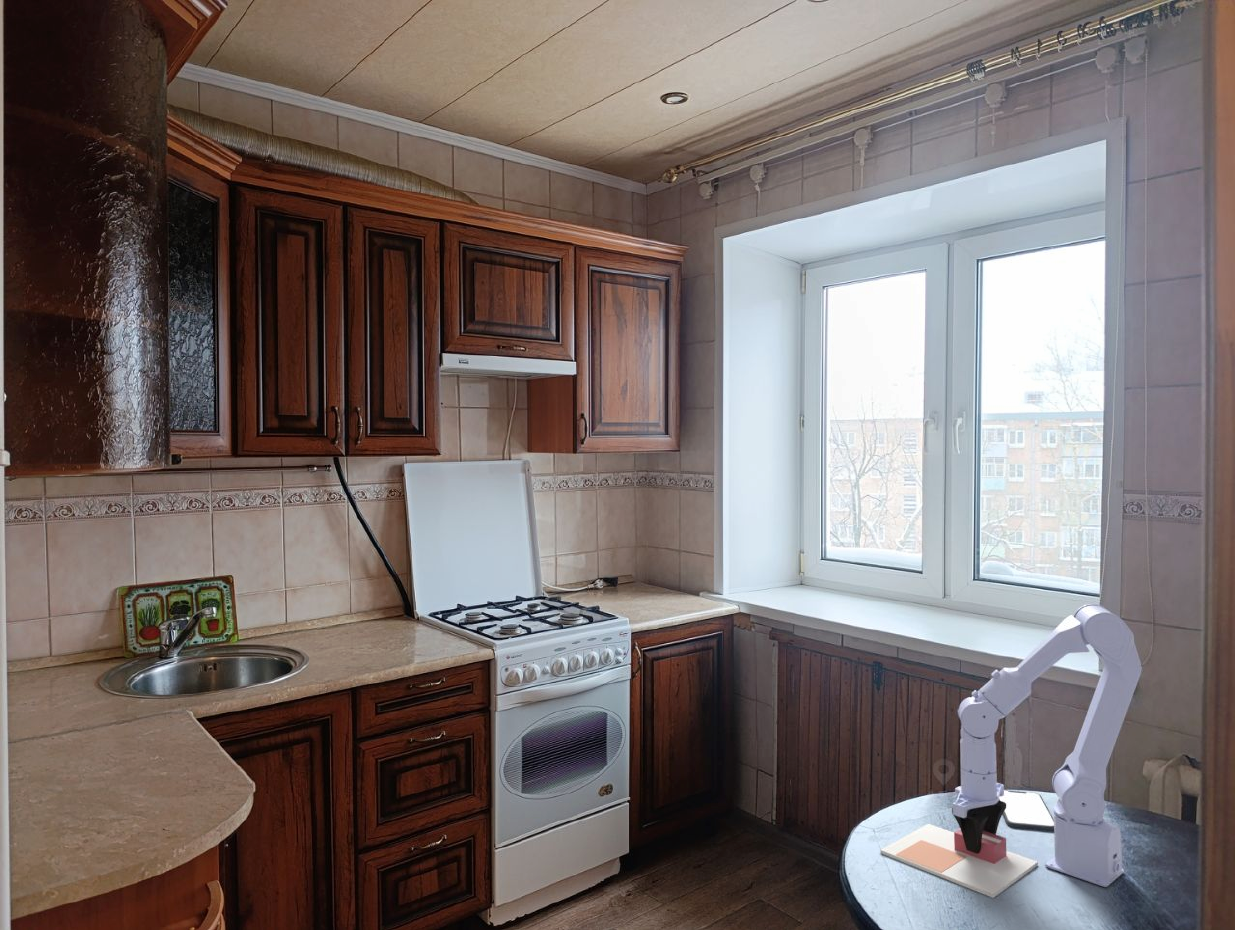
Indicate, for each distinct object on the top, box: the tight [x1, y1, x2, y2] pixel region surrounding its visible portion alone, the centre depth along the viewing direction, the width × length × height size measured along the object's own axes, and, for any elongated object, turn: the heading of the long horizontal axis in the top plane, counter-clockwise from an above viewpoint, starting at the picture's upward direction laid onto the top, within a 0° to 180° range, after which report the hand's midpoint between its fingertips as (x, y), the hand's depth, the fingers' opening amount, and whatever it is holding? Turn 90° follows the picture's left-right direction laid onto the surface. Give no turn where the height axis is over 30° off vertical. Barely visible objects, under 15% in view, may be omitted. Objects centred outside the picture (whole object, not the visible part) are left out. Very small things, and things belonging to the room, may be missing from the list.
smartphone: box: [999, 789, 1054, 833], centre depth 158 cm, size 9×2×16 cm
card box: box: [954, 828, 1007, 864], centre depth 141 cm, size 7×4×3 cm, turn 40°
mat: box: [880, 823, 1039, 899], centre depth 140 cm, size 20×16×1 cm
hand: (980, 846), depth 141 cm, fingers closed on card box, 4 cm apart
